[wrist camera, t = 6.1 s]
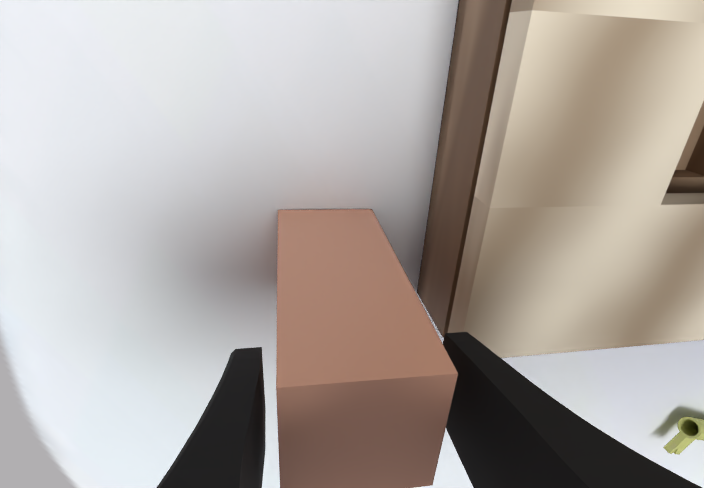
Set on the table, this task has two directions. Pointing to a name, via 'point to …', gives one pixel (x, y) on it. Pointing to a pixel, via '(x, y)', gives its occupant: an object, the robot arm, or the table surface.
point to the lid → (587, 182)
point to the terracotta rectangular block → (354, 359)
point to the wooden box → (467, 147)
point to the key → (686, 434)
